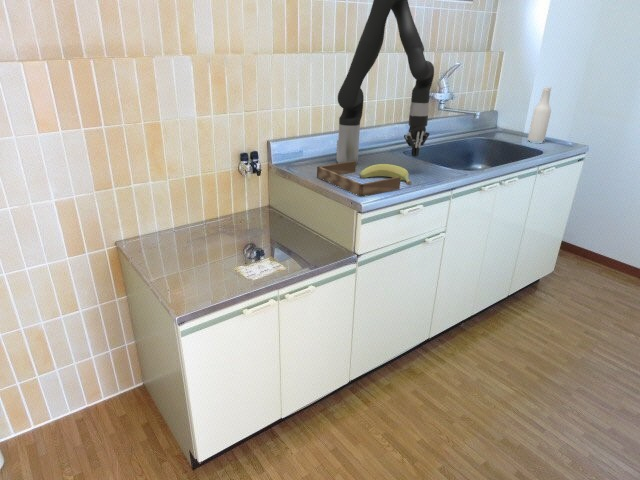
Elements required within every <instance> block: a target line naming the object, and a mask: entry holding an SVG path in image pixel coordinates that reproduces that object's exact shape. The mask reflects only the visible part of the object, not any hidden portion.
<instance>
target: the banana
mask: <svg viewBox="0 0 640 480" xmlns="http://www.w3.org/2000/svg"><path fill="white" fill-rule="evenodd" d="M358 176H359V178H360V179H365V178H373V177H374V178H375V177H388V178H395V177H401V180H400V181H403V182H405V181H406V185H411V184H412V181H411V180H410V179H409V172H408V170H407V169H405V168H404V167H402V166H399V165H395V164H387V163H379V164H378V163H377V164H372V165H370V166H367V167H366V168H363V170H361V171H360V173H359V175H358Z"/></svg>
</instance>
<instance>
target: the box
mask: <svg viewBox="0 0 640 480" xmlns="http://www.w3.org/2000/svg"><path fill="white" fill-rule="evenodd" d="M356 167H357V165H356V161H351V162H344V163H338V162H337V163H333V164H327V165H326V164H325V165H318V166H317V167H316V178H317V177H319V178H321V179H324V180H326V181H328V182H330V183H332V184H331V185H333V184H334V185H333V186H335V185H336V186H335V187H337V186H339V187H341V188H340V189H342V188H343V189H342V190H344V189H345V190H344V191H346V190H347V192H348V191H350V192H352V193H351V194H353V193H354V194H353V195H355V194H357V195H359V196H363V197H366V196H365V195H368V196H373V195H375V194H376V195H377V194H382V193H387V192H393V191H397V190H400V188H401V181H402V180H401V177H395V178H392V177H389V178H386V179H381V180H375V181H370V182H364V183H361V182H358V181H356V180H354V179H352V178H349V177H346V176H344V175H345V174H352V173H356ZM319 178H318V179H319ZM321 179H320V180H321ZM324 180H323V181H324ZM326 181H325V182H326ZM328 182H327V183H328ZM330 183H329V184H330ZM339 187H338V188H339ZM350 192H349V193H350ZM372 194H373V195H372ZM357 195H356V196H357ZM359 196H358V197H359Z"/></svg>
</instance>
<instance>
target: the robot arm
mask: <svg viewBox="0 0 640 480" xmlns="http://www.w3.org/2000/svg"><path fill="white" fill-rule="evenodd" d="M391 11H392V13H393V15H394V17H395V21H396V23H397V29H398V34H399V35H398V36H399V39H400V41H401V44H402V47H403V49H404V53H405V54H406V57H407V62H408V66H409V70H410V73H411V75H412V77H413V78H414V79H415V86H413V88H412V91H411V97H410V99H411V100H410V107H409V116H408V126H409V129H408V132H407V133H406V134H404V135H403V138H404V140H405V141H406V143H407V145H408V147H410V148H411V156H412V157H414V158H415V157H419V154H420V148H421V147H422V146H424V144H425V142H426V141H427V140H428V138H429V136H430V132H428V131H427V128H426V127H427V126H428V123H429V110H430V97H431V96H430V94H431V89H432V84H433V81H434V78H435V77H434V75H435V67H434V65H433V63H432V62H431V61H430V60H426V58H425V54H424V52H425V47H424V44H423V41H422V39H421V37H420V33H419V32H418V28H417V26H416V24H415V21H414V18H413V15H412V12H411V8H410V4H409V0H373V1H372V5H371V9H370V12H369V15H368V17H367V20H366V22H365V26H364V28H363V30H362V33H361V36H360V38H359V41H358V43H357V46H356V48H355V52H354V55H353V58H352V60H351V62H350V66H349V70H348V72H347V74H346V76H345V79H344V81H343V83H342V84H341V86H340V89H339V91H338V93H337V104H338V105H339V106H340V107H341V109H342V112H341V114H340V116H339V117H338V139H337V141H336V158H335V159H336V160H335V161H336V162H337V164H338V163H344V162H351V161H356V164H358V161H359V149H360V148H359V146H360V133H361V132H360V131H361V130H360V129H361V120H362V117H363V111H364V100H365V98H364V92H363V90H362V88H361V87H362V84H363V82H364V79H365V78H366V76H367V74H368V73H369V72H370V70H371V69H372V68H373V66H374V64H375V63H376V61H377V59H378V57H379V55H380V52H381V50H382V48H383V44H384V38H385V30H386V23H387V20H388V17H389V15H390V13H391Z"/></svg>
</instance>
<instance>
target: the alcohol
mask: <svg viewBox="0 0 640 480" xmlns="http://www.w3.org/2000/svg"><path fill="white" fill-rule="evenodd" d="M551 91H552V86H551V87H550V86H543V89H542V93H541V97H540V100H539V103H538V104H537V105H536V106H535V107H534V110H533V112H532V117H531V121H530V127H529V131H528V136H527V141H528V140H532V141H543V140H544V139H545V140H546V135H547V131H548V126H549V123H550V119H551V113H552V109H551V106H550V97H551ZM545 140H544V141H545Z"/></svg>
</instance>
